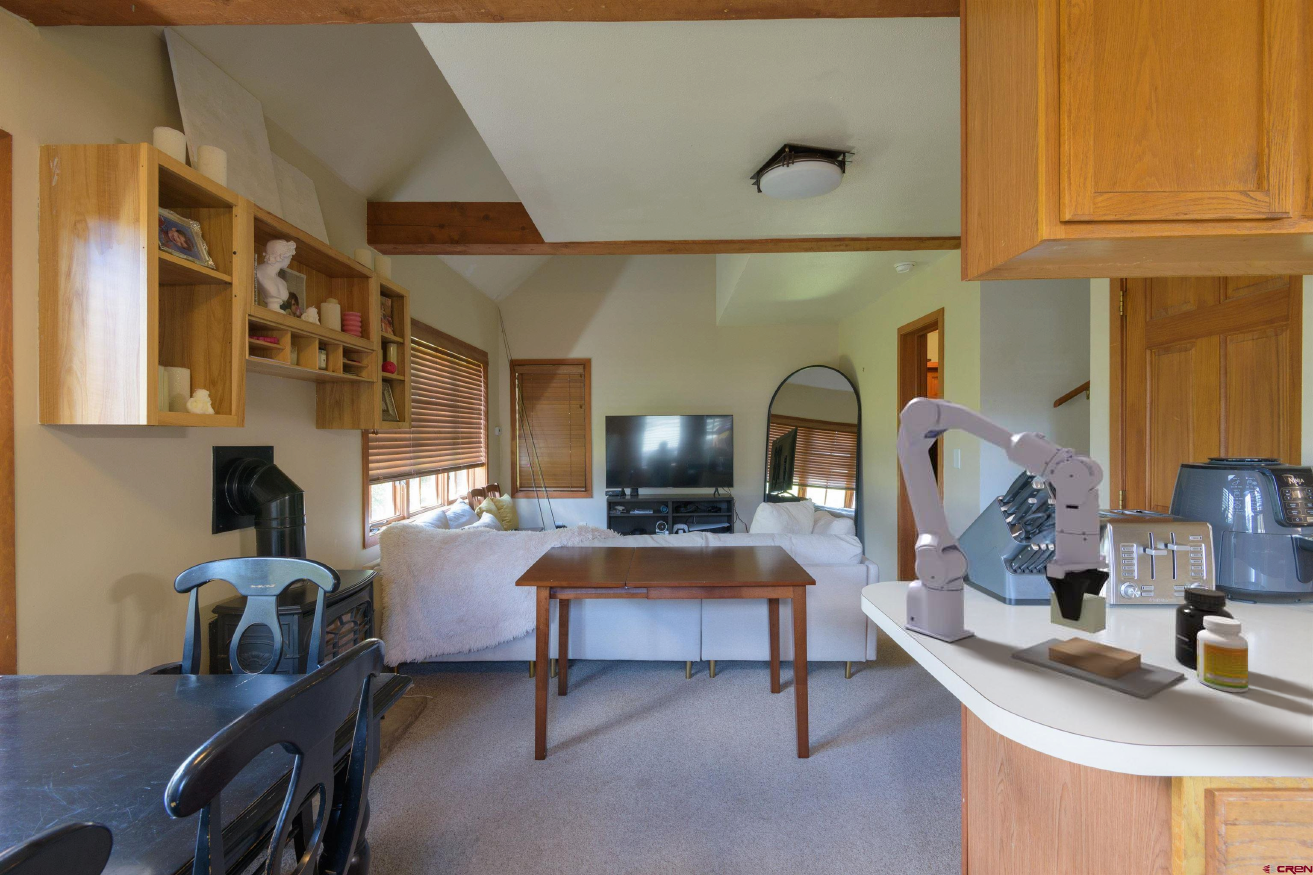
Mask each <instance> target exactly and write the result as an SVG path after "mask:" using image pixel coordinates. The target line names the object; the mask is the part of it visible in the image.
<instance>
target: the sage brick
mask: <svg viewBox="0 0 1313 875" xmlns="http://www.w3.org/2000/svg"><path fill="white" fill-rule="evenodd" d="M1106 602H1107V597H1106V596H1101V595H1099V596H1097V595H1092V594H1087V593H1084V597H1083V601H1082V609H1081V615H1080V618H1079V621H1073V620H1069V619H1064V618H1062V615H1061V611H1060V608H1059V604H1058V601H1057V598H1056V595H1055V593H1054V590H1052V591H1050V623H1051V624H1054V625H1057V626H1061V627H1065V628H1069V629H1073V630H1078V631H1081V632H1085V633H1089V634H1092V635H1093V634H1097V633H1100V632H1101V631H1105V630H1106V629H1107V617H1106V616H1107V612H1106V611H1107V609H1106V607H1107V606H1106V605H1107V604H1106Z"/></svg>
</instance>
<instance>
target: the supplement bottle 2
mask: <svg viewBox="0 0 1313 875" xmlns="http://www.w3.org/2000/svg"><path fill="white" fill-rule="evenodd" d="M1203 625H1204V627H1205V628H1206V630H1202V631H1200V632H1198V634H1197V670H1196V675H1197V680H1198V682H1200V684H1202V685H1203V686H1207V687H1208V688H1212V689H1215V690H1220V691H1222V692H1227V693H1246V692H1248V691H1249V644H1248V642H1249V641H1248V640H1246V638H1244V637H1243V636H1241V635H1240V634H1241V633H1242V622H1240V621H1239V620H1236V619H1235V618H1234V619H1230V618H1225V617H1219V616H1204V618H1203Z"/></svg>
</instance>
